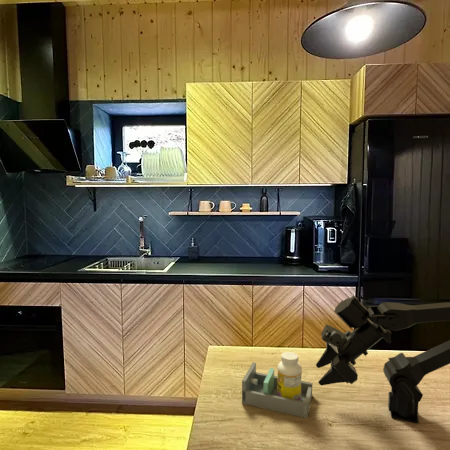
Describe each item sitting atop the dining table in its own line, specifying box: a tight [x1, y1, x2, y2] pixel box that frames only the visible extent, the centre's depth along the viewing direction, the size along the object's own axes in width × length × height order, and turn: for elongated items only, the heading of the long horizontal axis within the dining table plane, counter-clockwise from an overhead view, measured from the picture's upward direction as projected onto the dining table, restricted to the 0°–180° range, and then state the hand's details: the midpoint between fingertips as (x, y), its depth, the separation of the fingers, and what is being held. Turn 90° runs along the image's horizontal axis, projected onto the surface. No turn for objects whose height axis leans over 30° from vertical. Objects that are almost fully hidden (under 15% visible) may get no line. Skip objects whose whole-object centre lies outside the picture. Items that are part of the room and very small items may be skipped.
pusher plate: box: [263, 367, 275, 395], centre depth 101 cm, size 1×8×6 cm, turn 159°
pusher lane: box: [241, 362, 313, 419], centre depth 101 cm, size 18×11×7 cm, turn 70°
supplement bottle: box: [277, 351, 303, 401], centre depth 99 cm, size 7×7×13 cm
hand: (318, 374), depth 98 cm, fingers open, 9 cm apart
